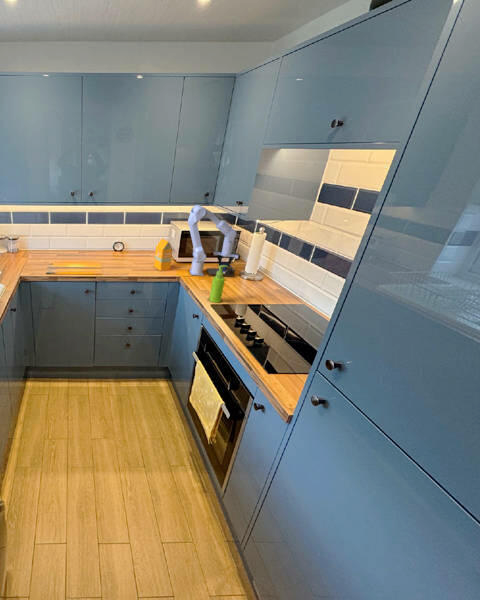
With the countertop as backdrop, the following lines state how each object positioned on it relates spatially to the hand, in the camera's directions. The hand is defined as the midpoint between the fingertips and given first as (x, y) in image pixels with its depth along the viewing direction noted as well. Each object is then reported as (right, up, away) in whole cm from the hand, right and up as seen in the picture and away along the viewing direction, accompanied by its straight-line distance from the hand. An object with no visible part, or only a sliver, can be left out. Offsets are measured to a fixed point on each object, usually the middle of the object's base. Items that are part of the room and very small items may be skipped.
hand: (223, 267), depth 213 cm
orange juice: (-37, 0, +12) cm, 39 cm away
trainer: (-1, -2, 0) cm, 2 cm away
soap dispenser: (-20, -22, -34) cm, 45 cm away
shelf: (-2, -4, +2) cm, 5 cm away
